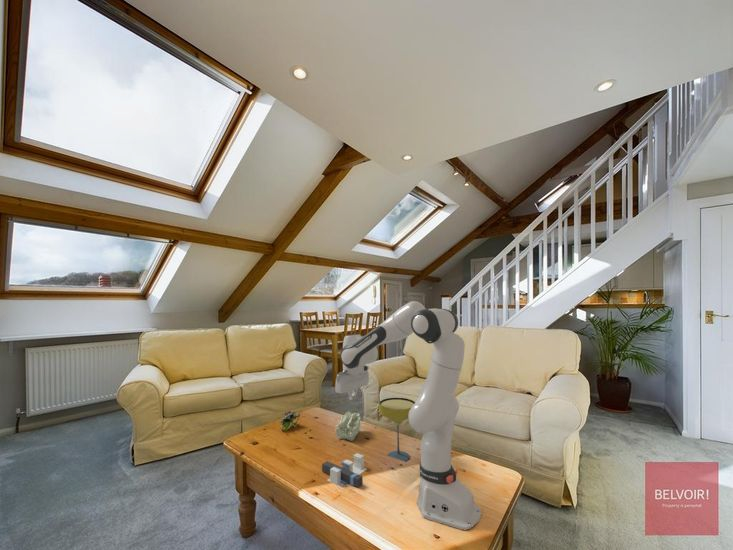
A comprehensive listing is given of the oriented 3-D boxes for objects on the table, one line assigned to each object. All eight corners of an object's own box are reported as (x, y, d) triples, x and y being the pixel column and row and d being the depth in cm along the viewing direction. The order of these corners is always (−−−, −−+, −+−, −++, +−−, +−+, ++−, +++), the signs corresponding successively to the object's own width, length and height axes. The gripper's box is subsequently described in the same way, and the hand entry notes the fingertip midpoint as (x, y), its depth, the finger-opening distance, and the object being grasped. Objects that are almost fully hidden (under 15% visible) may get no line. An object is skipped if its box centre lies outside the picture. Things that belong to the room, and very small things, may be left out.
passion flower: (287, 435, 196) (293, 414, 203) (300, 436, 190) (306, 414, 198) (274, 429, 189) (281, 408, 197) (287, 429, 184) (293, 408, 191)
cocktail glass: (405, 445, 170) (404, 395, 171) (425, 461, 153) (423, 406, 155) (373, 452, 162) (372, 400, 164) (390, 469, 146) (389, 412, 147)
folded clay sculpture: (351, 453, 175) (350, 433, 169) (332, 442, 182) (330, 422, 175) (369, 429, 189) (369, 409, 182) (350, 419, 195) (350, 400, 189)
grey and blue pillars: (368, 472, 144) (367, 457, 144) (341, 491, 130) (341, 473, 131) (353, 466, 149) (353, 451, 149) (326, 483, 136) (326, 467, 136)
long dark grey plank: (362, 484, 132) (362, 475, 132) (357, 487, 130) (357, 479, 130) (327, 468, 144) (327, 460, 145) (321, 471, 142) (321, 463, 142)
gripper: (342, 373, 144) (342, 406, 143) (370, 365, 160) (371, 394, 159) (331, 371, 148) (331, 403, 147) (360, 364, 164) (361, 392, 163)
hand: (352, 398), depth 154 cm, fingers closed
